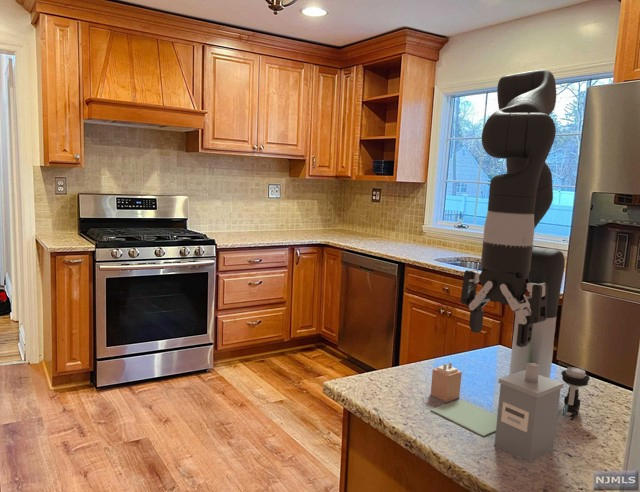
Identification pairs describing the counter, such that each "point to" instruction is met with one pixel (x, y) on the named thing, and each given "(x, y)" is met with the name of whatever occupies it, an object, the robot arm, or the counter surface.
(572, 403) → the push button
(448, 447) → the counter surface
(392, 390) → the counter surface
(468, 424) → the pad
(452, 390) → the block
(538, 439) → the box
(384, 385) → the counter surface
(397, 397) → the counter surface
